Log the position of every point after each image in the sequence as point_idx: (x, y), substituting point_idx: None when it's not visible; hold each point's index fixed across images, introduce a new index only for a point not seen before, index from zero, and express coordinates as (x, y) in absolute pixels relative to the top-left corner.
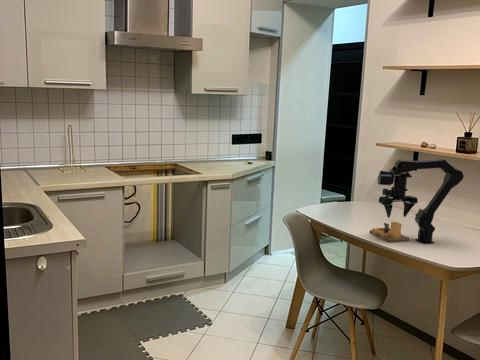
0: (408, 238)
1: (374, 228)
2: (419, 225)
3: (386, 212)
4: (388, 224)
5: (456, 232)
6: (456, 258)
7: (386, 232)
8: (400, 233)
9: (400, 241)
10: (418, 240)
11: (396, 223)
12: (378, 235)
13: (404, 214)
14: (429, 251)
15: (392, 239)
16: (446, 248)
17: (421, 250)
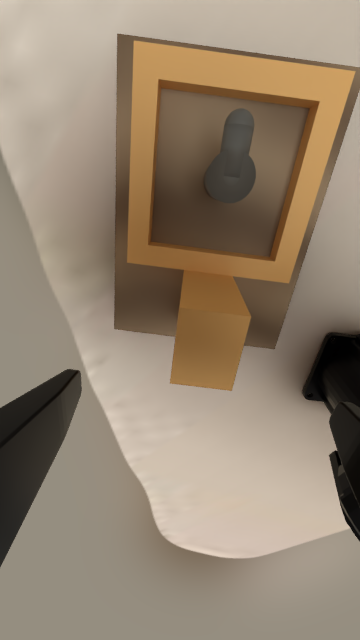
0: (266, 346)
1: (148, 67)
2: (338, 470)
3: (1, 413)
4: (231, 202)
5: None
6: (256, 521)
7: (210, 196)
8: (281, 281)
9: None
10: (321, 361)
11: (194, 365)
12: (118, 207)
13: (348, 443)
14: (228, 458)
15: (144, 331)
16: None
17: (205, 442)
